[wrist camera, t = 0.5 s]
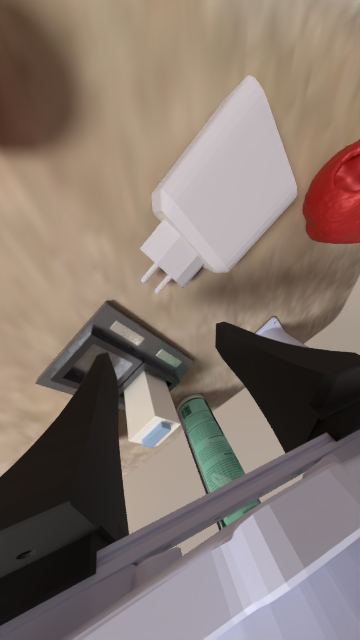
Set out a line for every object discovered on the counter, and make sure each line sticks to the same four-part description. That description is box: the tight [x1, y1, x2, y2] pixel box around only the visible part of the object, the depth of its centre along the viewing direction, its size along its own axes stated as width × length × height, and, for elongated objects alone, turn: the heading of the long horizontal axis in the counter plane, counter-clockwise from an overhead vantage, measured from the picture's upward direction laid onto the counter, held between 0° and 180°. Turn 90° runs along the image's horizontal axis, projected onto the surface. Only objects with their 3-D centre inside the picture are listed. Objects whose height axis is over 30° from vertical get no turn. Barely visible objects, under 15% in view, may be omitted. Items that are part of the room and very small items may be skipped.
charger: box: [140, 75, 297, 294], centre depth 16 cm, size 5×9×15 cm
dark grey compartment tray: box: [36, 301, 194, 411], centre depth 23 cm, size 15×12×2 cm
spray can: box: [177, 394, 261, 531], centre depth 24 cm, size 6×6×20 cm
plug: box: [124, 370, 181, 448], centre depth 22 cm, size 4×4×8 cm
